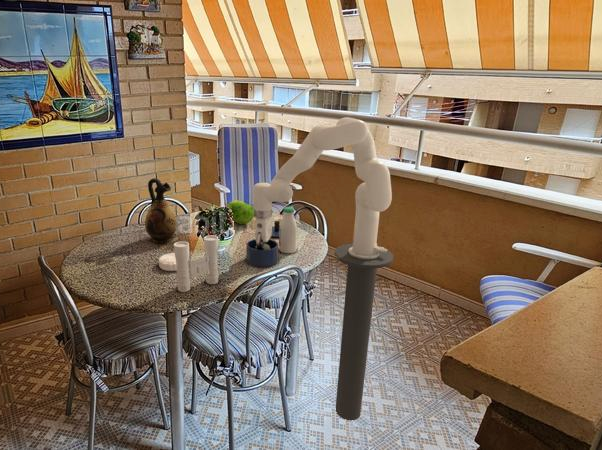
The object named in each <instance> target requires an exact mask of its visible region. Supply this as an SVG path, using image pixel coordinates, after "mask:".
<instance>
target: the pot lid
mask: <svg viewBox="0 0 602 450" xmlns="http://www.w3.org/2000/svg"><path fill="white" fill-rule="evenodd" d="M273 223H274V225H272V236H271V237H270V238H279V229H280V223H281V220H274V222H273Z"/></svg>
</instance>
